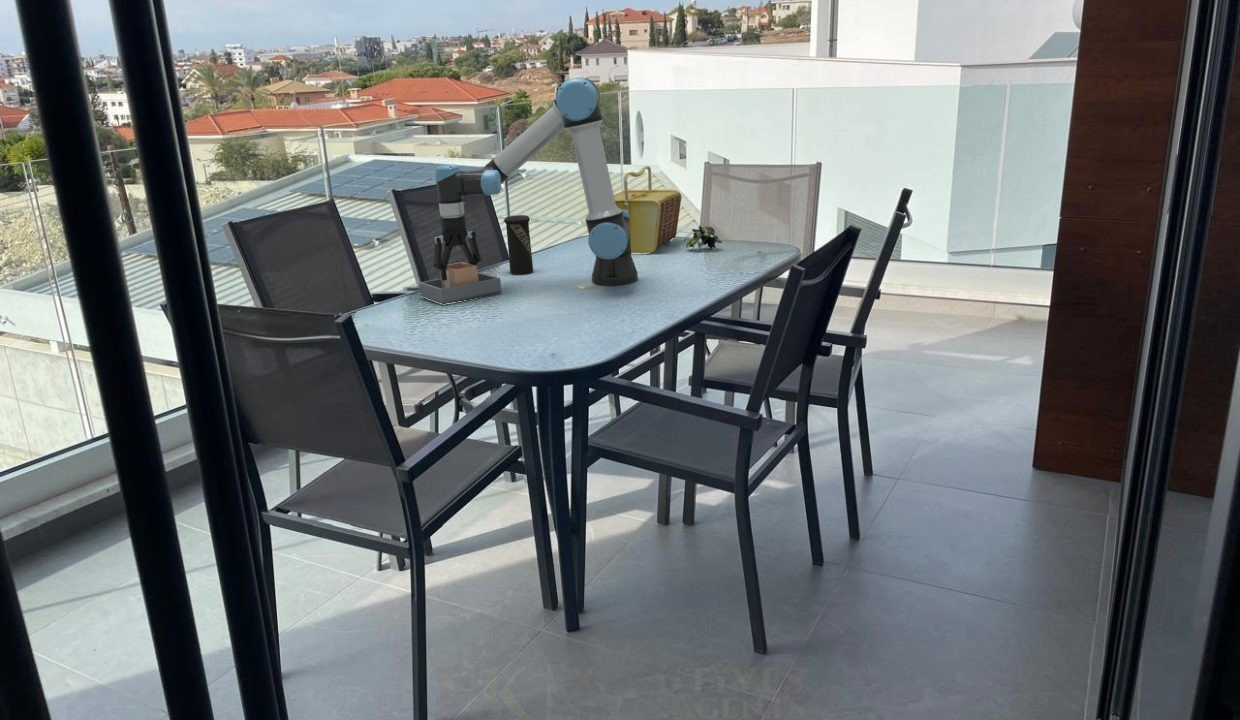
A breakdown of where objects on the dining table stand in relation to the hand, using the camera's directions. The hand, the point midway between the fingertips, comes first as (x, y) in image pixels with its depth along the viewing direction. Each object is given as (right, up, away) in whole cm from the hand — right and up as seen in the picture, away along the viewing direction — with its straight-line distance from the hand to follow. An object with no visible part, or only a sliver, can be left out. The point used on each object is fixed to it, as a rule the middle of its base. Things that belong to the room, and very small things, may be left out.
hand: (460, 287), depth 290 cm
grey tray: (0, -3, +1) cm, 3 cm away
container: (+16, +8, +31) cm, 35 cm away
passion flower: (+82, +17, +50) cm, 97 cm away
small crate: (0, -1, 0) cm, 1 cm away
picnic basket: (+59, +20, +63) cm, 89 cm away
